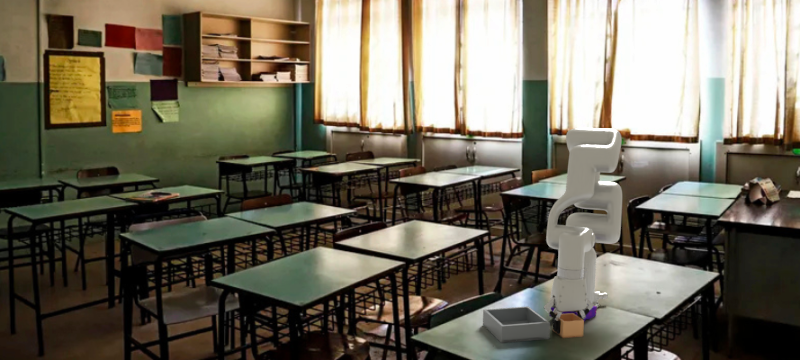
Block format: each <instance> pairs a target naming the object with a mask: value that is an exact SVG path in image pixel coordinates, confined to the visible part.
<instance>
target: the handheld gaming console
mask: <svg viewBox="0 0 800 360" xmlns="http://www.w3.org/2000/svg"><path fill="white" fill-rule="evenodd" d="M554 309H555V308H553V307H551V310H552V311H554ZM597 311H598V307H597V306H593V307H592V309H591V310H590V311H589V313H588V314H587V315H586V317H585V318H584V322H586V320H590V319H592V318H594V317H595V316H596V315H597ZM567 313H574V314H575V315H578V314H577V312H576V311H566V312H562V314H567ZM549 317H550V318H552V317H551V316H550V315H549Z"/></svg>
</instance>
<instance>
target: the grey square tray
mask: <svg viewBox="0 0 800 360" xmlns="http://www.w3.org/2000/svg"><path fill="white" fill-rule="evenodd" d="M482 312H483V313H482V326H483V325H484V326H485V327H486V328H487V329H488V330H487V329H486V328H485V327H484V326H483V327H484V328H485V329H486V330H487V331H488V332H489V333H491V335H493V337H495V339H497V340H498V341H499V342H500V343H501V344H504V343H515V342H517V343H518V342H519V343H520V342H527V341H528V342H530V341H539V340H550V331H551V322H550V321H549V320H547V319H546V318H545V317H543V316H542V315H540V314H539V313H538V312H536V310H534V309H532V308H531V307H530V306H529V305H528V306H515V307H512V306H511V307H502V308H500V307H499V308H488V309H485V308H484V309H483V310H482Z"/></svg>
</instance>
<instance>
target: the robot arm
mask: <svg viewBox="0 0 800 360" xmlns="http://www.w3.org/2000/svg"><path fill="white" fill-rule="evenodd" d="M565 140H566V146H567V149H568V151H569V156H568V162H567V163H568V164H567V176H566V185H565V191H564V193H563V194H562V195H561V197H559V198H558V199H557V200H556V201H555V202H554V204H553V205H552V207H551V209H550V211H549V215H548V218H547V226H546V237H545V238H546V239H545V241H546V244H547V245H548V247H549V248H551V249H554V250H557V252H558V256H557V257H558V258H557V274H556V276H554V277H553V281H552V286H551V292H550V300H549V301H548V302H547V303H546V304H544V306H543V309H544V310H545V312H546V313H548V314H549V315H550V316H551V317H550V316H549V317H550V318H552V331H553V330H554V331H555V332H556V333H555V332H554V331H553V332H554V333H555V334H557V333H560V323H561V321H560V320H559V318H560V316H561V314H562V312H566V311H576V312H577V314H578V315H577V316H578V317H580V318H581V319H583V320H584V318H585V317H586V315H587V314H588V313H589V311H590V310H591V309H592V307H593V306H597V308H598V307H599V306H600V305H599V304H600V302H599V300H603V299H604V300H605V299H608V295H609V294H608V293H607V292H600V291H596V273H597V253H596V250H595V248H594V247H595V244H596V243H597V244H599V243H600V244H610V245H611V244H612V245H613V244H616V243H618V241H620V238H621V229H622V228H621V227H622V214H623V213H622V212H623V210H622V209H623V190H622V186H620V184H619V183H617V182H614V181H603V180H600V179H601V178H600V177H601V176H600V175H601V173H614V172H615V170H616V169H617V167H618V163H619V157H620V153H621V147H622V134H621V133H620V131H619V130H618V129H616V128H601V127H600V128H597V127H596V128H595V127H576V128H572V129H569V130H568V131H567V132H566V135H565ZM572 205H574V206H575V207H576V208H580V209H586V210H597V211H605V212H606V214H604V213H603V214H602V213H594V212H593V213H591V212H574V213H571V214H570V215H568V217H567V218H566V220H565V225H564V224H558V220H559V217H560V215H561V213H562V212H563V211H564V210H566V208H568V207H571V206H572ZM551 307H553V308H555V309H554V311H552V310H551Z"/></svg>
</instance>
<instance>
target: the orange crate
mask: <svg viewBox="0 0 800 360" xmlns="http://www.w3.org/2000/svg"><path fill="white" fill-rule="evenodd" d="M559 320H560V321H561V323H560V333H556V332H555V331H554V330H553V329H552V331H553V332H554V333H555V334H557V335H558V336H559V337H560V338H562V339H571V338H582V337H584V329H585V327H584V326H585V321H584V320H583V319H581V318H580V317H578V316H577V315H575V314H574V313H567V314H561V316H560V318H559Z"/></svg>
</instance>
